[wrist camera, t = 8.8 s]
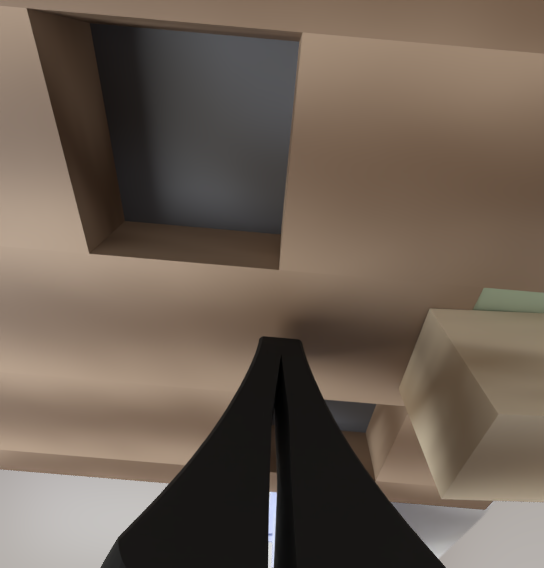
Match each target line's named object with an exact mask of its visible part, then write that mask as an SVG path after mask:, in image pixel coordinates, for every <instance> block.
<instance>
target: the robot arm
mask: <svg viewBox="0 0 544 568" xmlns="http://www.w3.org/2000/svg"><path fill="white" fill-rule="evenodd" d="M273 413H274V417H275V442H276V466H277V492H270V497H269V490H270V456H271V427H272V420H273ZM268 542H272V568H446V567H445V566H444V565H443V564H442V563H441V561H440V560H439V559H438V558H437V557H436V556H435V555H434V554H433V552H432V551H431V550H430V549H429V548H428V547H427V546H426V545H425V543H424V542H423V541H422V540H421V539H420V538H419V536H418V535H417V534H416V533H415V532H414V531H413V529H412V528H411V527H410V526H409V525H408V524H407V522H406V521H405V520H404V519H403V517H402V516H401V515H400V514H399V512H398V511H397V510H396V509H395V507H394V506H393V505H392V504H391V502H390V501H389V500H388V499H387V497H386V496H385V494H384V493H383V492H382V490H381V489H380V488H379V486H378V485H377V484H376V482H375V481H374V480H373V478H372V477H371V476H370V474H369V473H368V471H367V470H366V469H365V467H364V466H363V464H362V463H361V461H360V460H359V458H358V457H357V455H356V454H355V452H354V451H353V449H352V448H351V446H350V445H349V443H348V441H347V440H346V438H345V437H344V435H343V433H342V432H341V430H340V428H339V426H338V425H337V423H336V421H335V419H334V417H333V416H332V414H331V412H330V410H329V408H328V406H327V404H326V402H325V400H324V398H323V396H322V394H321V392H320V390H319V387H318V385H317V383H316V381H315V378H314V376H313V374H312V371H311V369H310V366H309V363H308V361H307V358H306V355H305V352H304V348H303V344H302V342H301V341H300V340H299V339H290V338H278V337H267V336H262V337H261V338H259V343H258V346H257V350H256V352H255V355H254V358H253V360H252V362H251V365H250V367H249V369H248V371H247V373H246V375H245V377H244V379H243V381H242V383H241V385H240V387H239V388H238V390H237V392H236V394H235V395H234V397H233V399H232V400H231V402H230V404H229V405H228V407H227V409H226V410H225V412H224V413H223V415H222V416H221V418H220V419H219V421H218V422H217V424H216V425H215V427H214V428H213V430H212V431H211V432H210V434H209V435H208V437H207V438H206V439H205V441H204V442H203V443H202V445H201V446H200V447H199V448H198V450H197V451H196V452H195V454H194V455H193V456H192V457H191V459H190V460H189V461H188V462H187V464H186V465H185V466H184V467H183V468H182V470H181V471H180V472H179V473H178V474H177V475H176V476H175V478H174V479H173V480H172V481H171V482H170V483H169V484H168V486H167V487H166V488H165V489H164V490H163V492H162V493H161V494H160V495H159V496H158V497H157V498H156V499H155V500H154V501H153V502H152V503H151V504H150V505H149V506H148V507H147V509H146V510H145V511H143V512H142V514H141V515H140V516H139V517H138V518H137V519H136V520H135V521H134V522H133V523H132V524H131V525H130V526H129V527H128V528H127V529H126V530H125V531H124V532H123V533H122V534H121V535H120V536H119V537H118V539H117V540H116V542H115V544H114V545H113V547H112V549H111V550H110V552H109V554H108V555H107V557H106V559H105V561H104V562H103V564H102V566H101V568H268Z"/></svg>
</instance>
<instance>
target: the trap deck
mask: <svg viewBox="0 0 544 568" xmlns="http://www.w3.org/2000/svg"><path fill="white" fill-rule="evenodd" d="M430 308H433V309H456V310H479V311H502V312H526V313H544V0H0V469H3V470H16V471H27V472H40V473H51V474H63V475H75V476H87V477H99V478H111V479H123V480H135V481H148V482H159V483H170V482H171V481H172V480H173V479H174V478H175V476H176V475H177V474H178V473H179V472H180V471H181V470H182V468H183V467H184V466H185V465H186V464H187V462H188V461H189V460H190V459H191V457H192V456H193V455H194V454H195V452H196V451H197V450H198V448H199V447H200V446H201V445H202V443H203V442H204V441H205V439H206V438H207V437H208V435H209V434H210V432H211V431H212V430H213V428H214V427H215V425H216V424H217V422H218V421H219V419H220V418H221V416H222V415H223V413H224V412H225V410H226V409H227V407H228V405H229V404H230V402H231V400H232V399H233V397H234V395H235V394H236V392H237V390H238V388H239V387H240V385H241V383H242V381H243V379H244V377H245V375H246V373H247V371H248V369H249V367H250V365H251V362H252V360H253V358H254V355H255V352H256V350H257V346H258V343H259V338H261V337H262V336H267V337H278V338H290V339H299V340H300V341H301V342H302V344H303V348H304V352H305V355H306V358H307V361H308V363H309V366H310V369H311V371H312V374H313V376H314V378H315V381H316V383H317V385H318V387H319V390H320V392H321V394H322V396H323V398H324V400H325V402H326V404H327V406H328V408H329V410H330V412H331V414H332V416H333V417H334V419H335V421H336V423H337V425H338V426H339V428H340V430H341V432H342V433H343V435H344V437H345V438H346V440H347V441H348V443H349V445H350V446H351V448H352V449H353V451H354V452H355V454H356V455H357V457H358V458H359V460H360V461H361V463H362V464H363V466H364V467H365V469H366V470H367V471H368V473H369V474H370V476H371V477H372V478H373V480H374V481H375V482H376V484H377V485H378V486H379V488H380V489H381V490H382V492H383V493H384V494H385V496H386V497H387V499H388V500H389V501H390V502H399V503H411V504H423V505H435V506H447V507H459V508H471V509H483V510H485V509H486V508H487V507H488V506H489V505H490V504H491V503H492V502H493V501H487V500H455V499H441V497H440V494H439V492H438V489H437V487H436V484H435V482H434V479H433V476H432V474H431V471H430V469H429V466H428V464H427V461H426V458H425V456H424V453H423V451H422V448H421V446H420V443H419V440H418V438H417V435H416V433H415V430H414V427H413V425H412V422H411V420H410V417H409V415H408V412H407V409H406V407H405V404H404V402H403V399H402V397H401V394H400V391H399V386H400V384H401V381H402V379H403V376H404V374H405V371H406V368H407V366H408V363H409V361H410V358H411V355H412V353H413V350H414V348H415V345H416V342H417V340H418V337H419V335H420V332H421V330H422V327H423V324H424V322H425V319H426V317H427V314H428V311H429V309H430ZM269 492H277V466H276V442H275V417H274V413H273V420H272V427H271V456H270V490H269Z"/></svg>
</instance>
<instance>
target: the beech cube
mask: <svg viewBox="0 0 544 568" xmlns="http://www.w3.org/2000/svg"><path fill="white" fill-rule="evenodd" d="M399 391H400V394H401V397H402V399H403V402H404V404H405V407H406V409H407V412H408V415H409V417H410V420H411V422H412V425H413V427H414V430H415V433H416V435H417V438H418V440H419V443H420V446H421V448H422V451H423V453H424V456H425V458H426V461H427V464H428V466H429V469H430V471H431V474H432V476H433V479H434V482H435V484H436V487H437V489H438V492H439V494H440V497H441V499H455V500H487V501H523V502H544V313H526V312H502V311H479V310H456V309H433V308H430V309H429V311H428V314H427V317H426V319H425V322H424V324H423V327H422V330H421V332H420V335H419V337H418V340H417V342H416V345H415V348H414V350H413V353H412V355H411V358H410V361H409V363H408V366H407V368H406V371H405V374H404V376H403V379H402V381H401V384H400V386H399Z"/></svg>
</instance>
